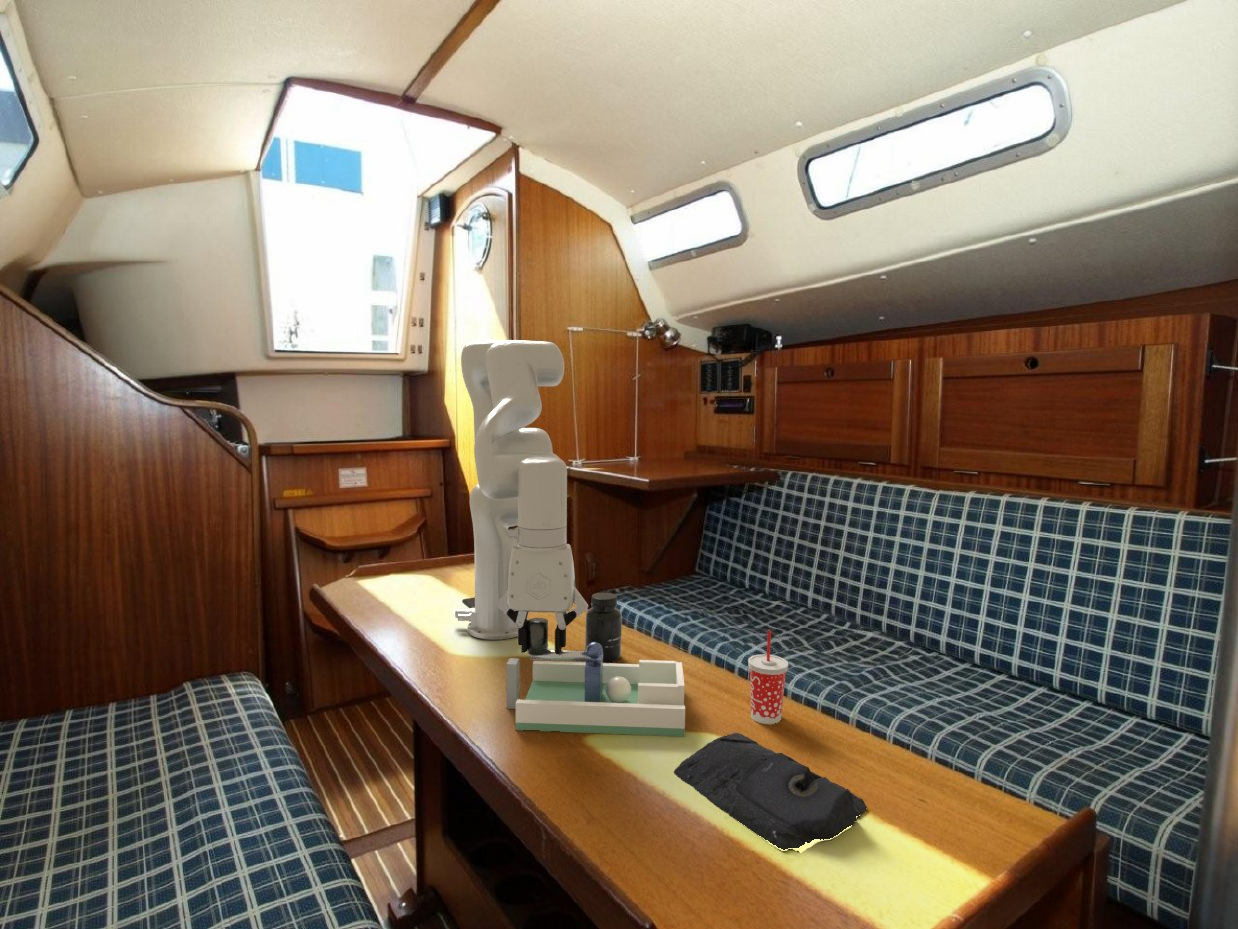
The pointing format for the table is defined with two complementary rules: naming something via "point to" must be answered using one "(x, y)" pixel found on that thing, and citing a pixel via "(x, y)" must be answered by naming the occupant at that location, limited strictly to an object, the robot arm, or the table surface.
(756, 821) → the dark slate chunk
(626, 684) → the ball
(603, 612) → the supplement bottle
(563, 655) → the table football player
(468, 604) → the smartphone
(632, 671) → the pitch
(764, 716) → the beverage cup
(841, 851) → the table surface
